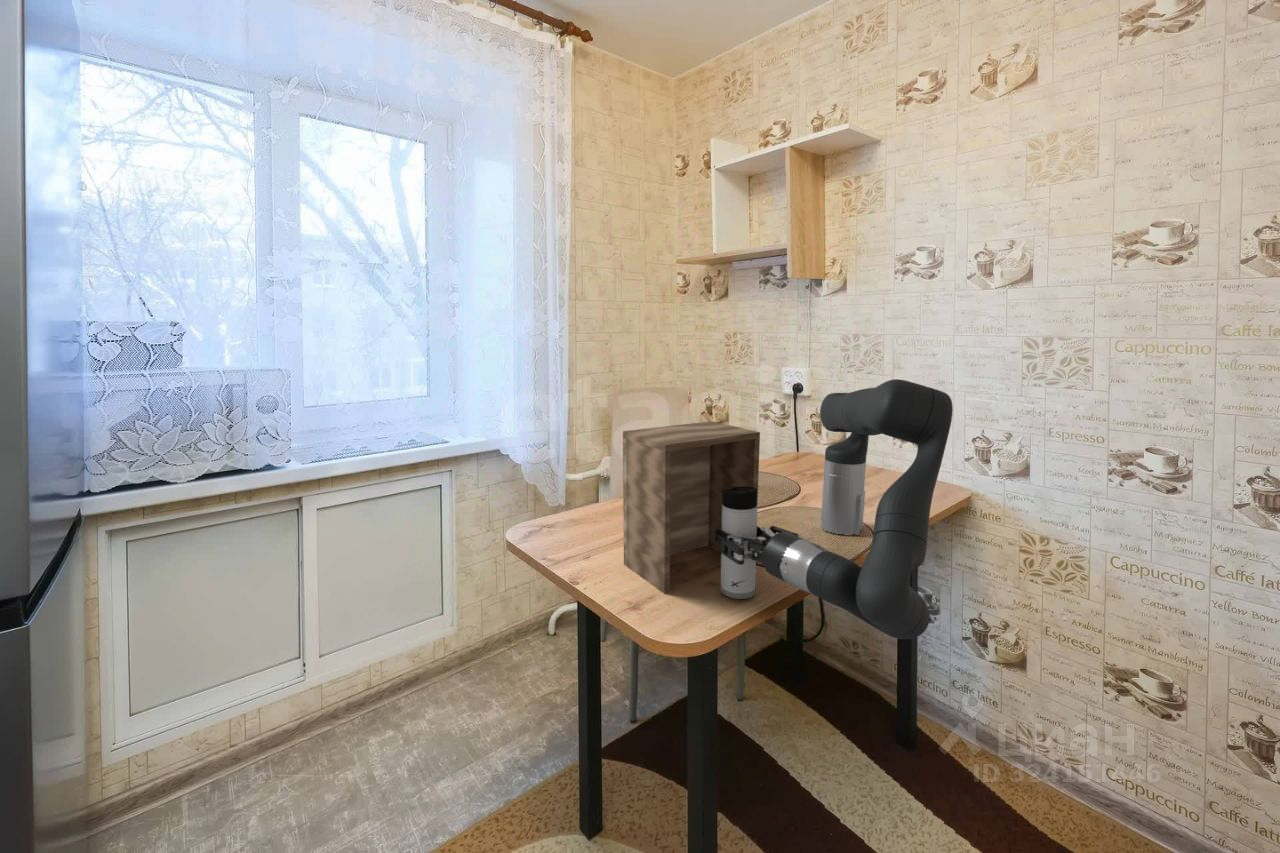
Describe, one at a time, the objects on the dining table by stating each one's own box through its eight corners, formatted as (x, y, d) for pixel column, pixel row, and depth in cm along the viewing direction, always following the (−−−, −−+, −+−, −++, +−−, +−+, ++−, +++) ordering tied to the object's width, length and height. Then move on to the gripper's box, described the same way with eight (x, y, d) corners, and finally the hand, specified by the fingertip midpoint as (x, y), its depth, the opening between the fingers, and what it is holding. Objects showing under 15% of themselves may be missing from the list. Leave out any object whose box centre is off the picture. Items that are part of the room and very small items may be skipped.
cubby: (755, 566, 116) (760, 432, 111) (664, 593, 104) (665, 444, 99) (709, 542, 128) (711, 421, 123) (623, 564, 117) (622, 431, 112)
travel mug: (739, 603, 99) (742, 494, 96) (713, 590, 104) (714, 485, 101) (763, 593, 103) (766, 487, 99) (737, 580, 108) (739, 480, 104)
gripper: (831, 531, 92) (760, 504, 107) (766, 549, 85) (699, 518, 99) (829, 574, 94) (759, 542, 108) (765, 596, 86) (699, 558, 101)
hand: (731, 531), depth 103 cm, fingers closed on travel mug, 6 cm apart
